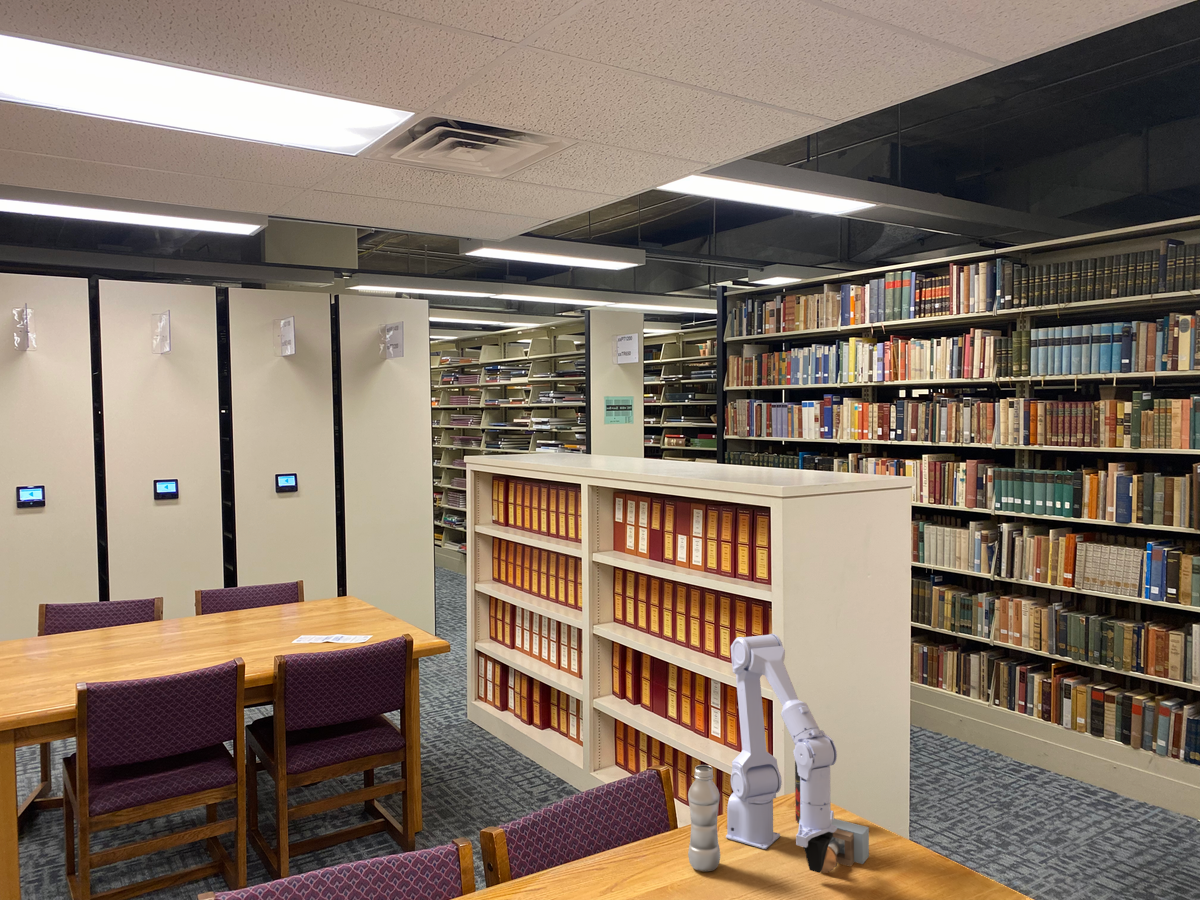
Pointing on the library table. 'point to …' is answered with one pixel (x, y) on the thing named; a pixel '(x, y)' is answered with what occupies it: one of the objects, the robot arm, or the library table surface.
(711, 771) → the plastic bottle
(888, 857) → the library table surface
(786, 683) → the robot arm
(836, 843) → the shaft
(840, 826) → the bearing block
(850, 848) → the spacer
